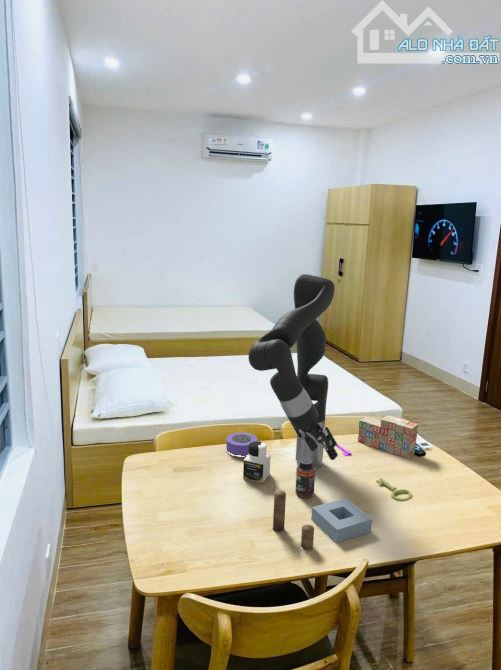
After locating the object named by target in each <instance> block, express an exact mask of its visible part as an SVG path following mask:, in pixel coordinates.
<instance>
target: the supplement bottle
mask: <svg viewBox="0 0 501 670" xmlns="http://www.w3.org/2000/svg"><path fill="white" fill-rule="evenodd" d="M295 472H296V473H295V475H296V476H295V494H296V495H297V496H298V497H300V498H311V497H312V496H314V494H315V479H316V468H314V467H313V466H312V460H310V459H307V458H303V459H301V460H300V465H297V467H296V471H295Z"/></svg>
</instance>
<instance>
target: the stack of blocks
mask: <svg viewBox="0 0 501 670" xmlns="http://www.w3.org/2000/svg"><path fill="white" fill-rule="evenodd" d="M358 423H359V425H358V436H357V442H359V443H362V444H364V445H366V446H367V445H368V446H370V447H373V448H375V449H379V450H382V451H384V452H388V453H391V454H393V455H397V456H400V457H402V458H406V459H409V458H411V457H412V456H414V453H415V452H416V445H417V438H418V428H419V423H415V422H412V421H410V420H407V419H402V418H399V417H396V416H392V415H386V416H384V417H383V418H381V419H377V418H373V417H370V416H365V417H363V418H361V419H359V422H358ZM415 454H416V453H415Z"/></svg>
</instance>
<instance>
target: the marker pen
mask: <svg viewBox="0 0 501 670" xmlns="http://www.w3.org/2000/svg"><path fill="white" fill-rule="evenodd" d="M335 447H337V449H339V450H341V451H342V452H343V453H342V455H343V456H346V457H347V456H352V452H351V451H349V450H347V449H345V447H342V446H341V445H340V444H337V445H336V446H335Z"/></svg>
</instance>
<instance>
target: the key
mask: <svg viewBox="0 0 501 670" xmlns="http://www.w3.org/2000/svg"><path fill="white" fill-rule="evenodd" d="M375 482H376V483H377V484H380V483H382V484H383V485H384V486H385V487H387V488H388V489H390V491H391V494H390V498H391V499H393V500H395V501H398V502H404V501H408V500H410V499H411V498H412V492H411V491H410V490H408V489H406V488H401V489H400V488H399V489H397V487H396V486H392V485H391V484H390V483H389V482H387V481H386V480H385V479H384V478H382V477H379V479H377V480H375ZM403 493H405V494H408V496H406V497H398V496H395V495H398V494H403Z"/></svg>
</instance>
